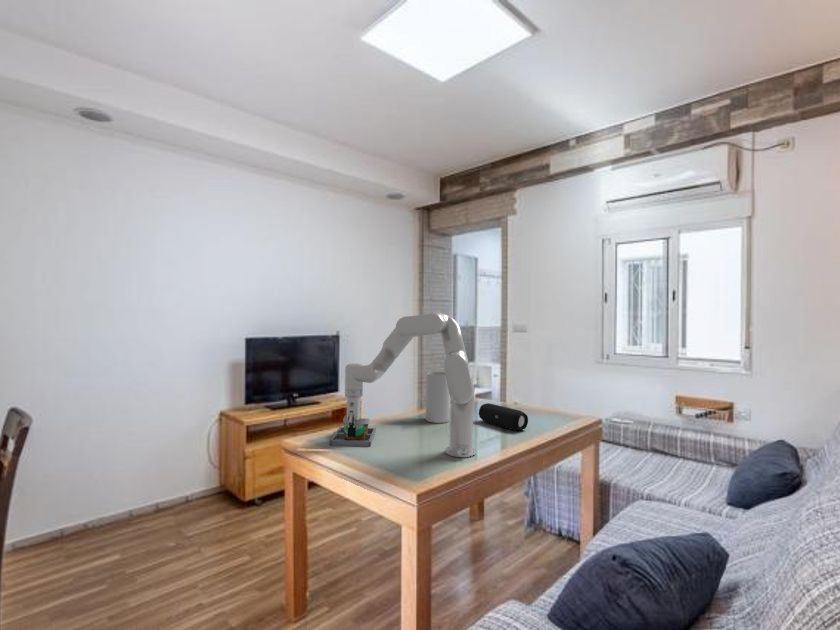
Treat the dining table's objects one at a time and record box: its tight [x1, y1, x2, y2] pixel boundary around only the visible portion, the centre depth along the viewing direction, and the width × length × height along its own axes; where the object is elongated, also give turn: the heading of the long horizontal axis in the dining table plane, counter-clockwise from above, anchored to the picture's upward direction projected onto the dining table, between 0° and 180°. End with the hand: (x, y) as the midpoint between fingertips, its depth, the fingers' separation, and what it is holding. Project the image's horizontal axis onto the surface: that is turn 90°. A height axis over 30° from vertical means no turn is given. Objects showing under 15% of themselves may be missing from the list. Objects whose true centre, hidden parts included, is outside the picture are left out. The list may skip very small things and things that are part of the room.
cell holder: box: [329, 426, 377, 448], centre depth 199 cm, size 21×17×3 cm
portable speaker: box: [478, 402, 529, 431], centre depth 232 cm, size 26×10×10 cm, turn 41°
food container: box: [342, 414, 371, 441], centre depth 193 cm, size 12×6×10 cm, turn 71°
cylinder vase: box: [425, 371, 451, 424], centre depth 239 cm, size 12×12×25 cm
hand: (352, 434), depth 194 cm, fingers closed on food container, 6 cm apart
